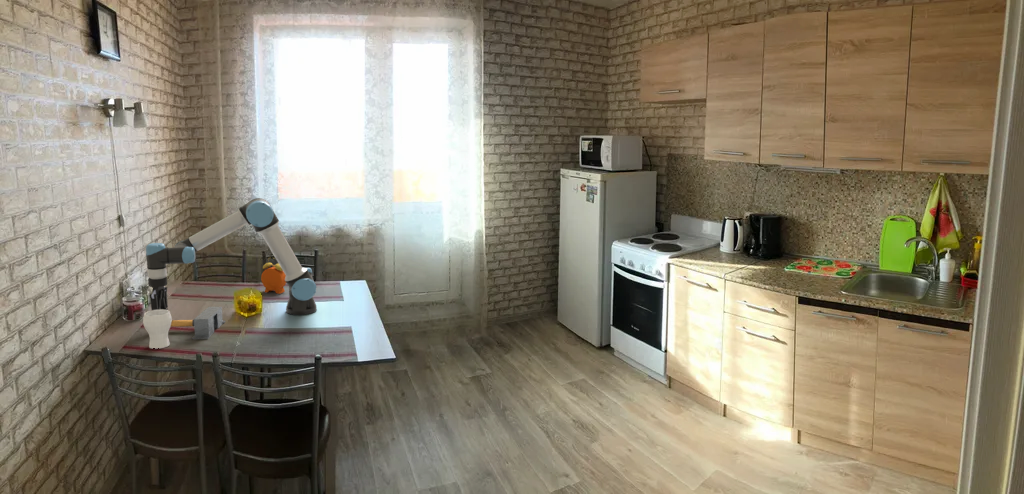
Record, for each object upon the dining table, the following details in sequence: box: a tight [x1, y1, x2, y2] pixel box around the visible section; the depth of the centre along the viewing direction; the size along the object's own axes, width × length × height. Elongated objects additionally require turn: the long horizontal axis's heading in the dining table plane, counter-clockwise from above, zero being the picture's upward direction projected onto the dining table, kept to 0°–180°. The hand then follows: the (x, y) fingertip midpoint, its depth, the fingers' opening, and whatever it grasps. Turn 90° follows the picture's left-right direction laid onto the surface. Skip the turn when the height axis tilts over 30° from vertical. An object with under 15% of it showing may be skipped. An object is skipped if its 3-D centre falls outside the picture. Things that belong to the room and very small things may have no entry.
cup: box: [142, 309, 173, 350], centre depth 263 cm, size 11×11×15 cm
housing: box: [191, 306, 226, 340], centre depth 285 cm, size 7×25×9 cm, turn 8°
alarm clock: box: [260, 257, 287, 295], centre depth 352 cm, size 13×6×20 cm, turn 77°
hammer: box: [170, 318, 195, 328], centre depth 283 cm, size 18×4×7 cm, turn 98°
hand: (161, 326), depth 282 cm, fingers closed on hammer, 4 cm apart
